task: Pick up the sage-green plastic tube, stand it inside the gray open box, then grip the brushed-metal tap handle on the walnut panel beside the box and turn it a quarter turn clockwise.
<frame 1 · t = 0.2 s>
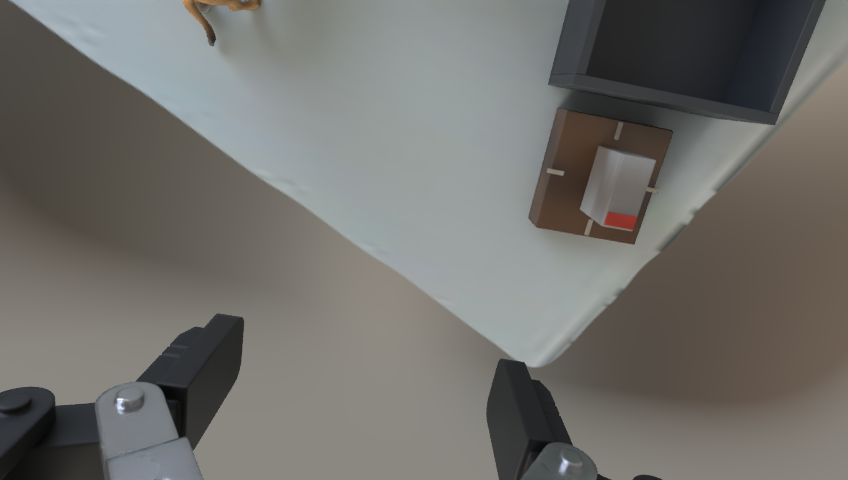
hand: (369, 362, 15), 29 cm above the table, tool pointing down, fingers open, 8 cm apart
tap knob: (615, 187, 37), point 6 cm above the table, hinge at 0.0°
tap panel: (590, 174, 42), on the table
gray open box: (662, 16, 38), on the table
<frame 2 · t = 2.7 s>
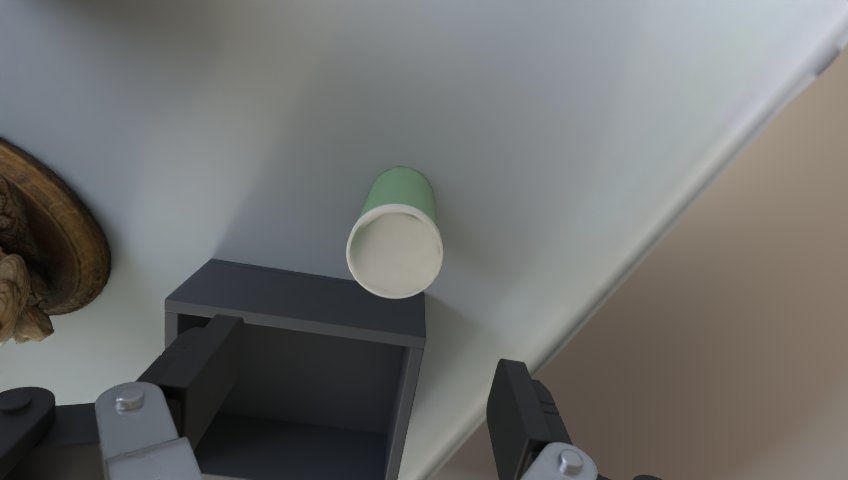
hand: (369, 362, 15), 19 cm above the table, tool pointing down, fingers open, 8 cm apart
gray open box: (310, 354, 36), on the table
green tube: (401, 198, 33), on the table
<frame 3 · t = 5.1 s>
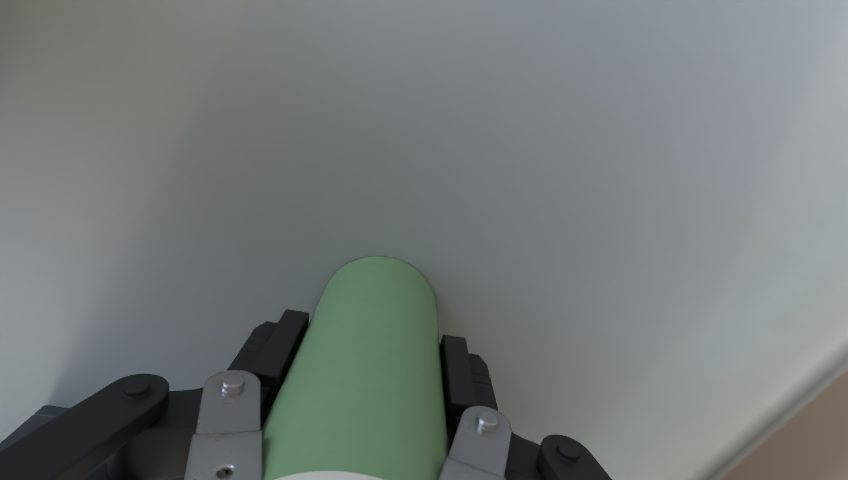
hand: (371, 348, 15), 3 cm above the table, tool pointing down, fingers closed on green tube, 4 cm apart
green tube: (379, 309, 18), on the table, touching gripper
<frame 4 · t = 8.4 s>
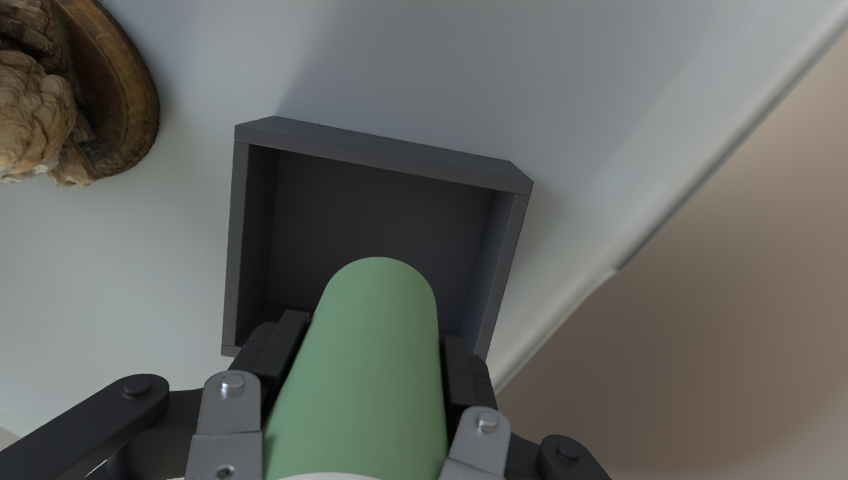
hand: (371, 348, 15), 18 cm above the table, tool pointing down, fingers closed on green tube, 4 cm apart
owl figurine: (24, 55, 29), on the table
gray open box: (377, 236, 33), on the table
green tube: (379, 309, 18), point 15 cm above the table, touching gripper
when the fingers open (3 cm above the table, at t = 12.0 s): green tube stays where it is, resting on gray open box.
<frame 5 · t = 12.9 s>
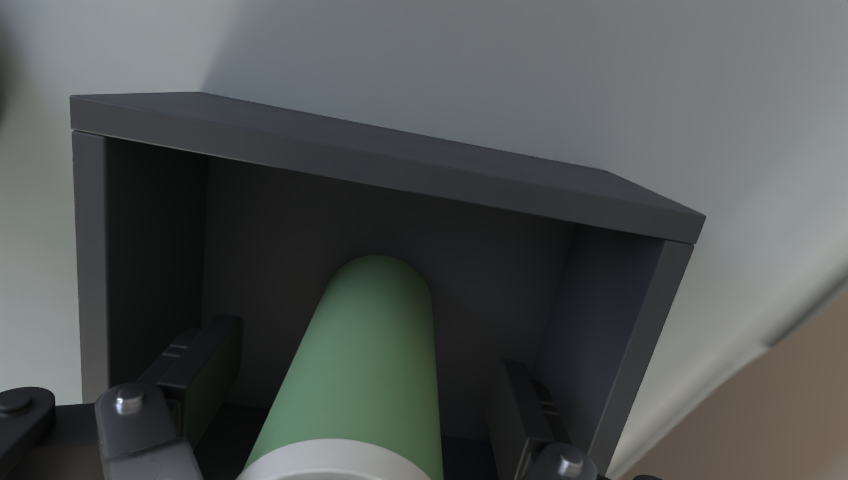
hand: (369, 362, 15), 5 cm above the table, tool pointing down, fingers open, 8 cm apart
gray open box: (379, 295, 20), on the table
green tube: (377, 305, 19), point 1 cm above the table, touching gray open box
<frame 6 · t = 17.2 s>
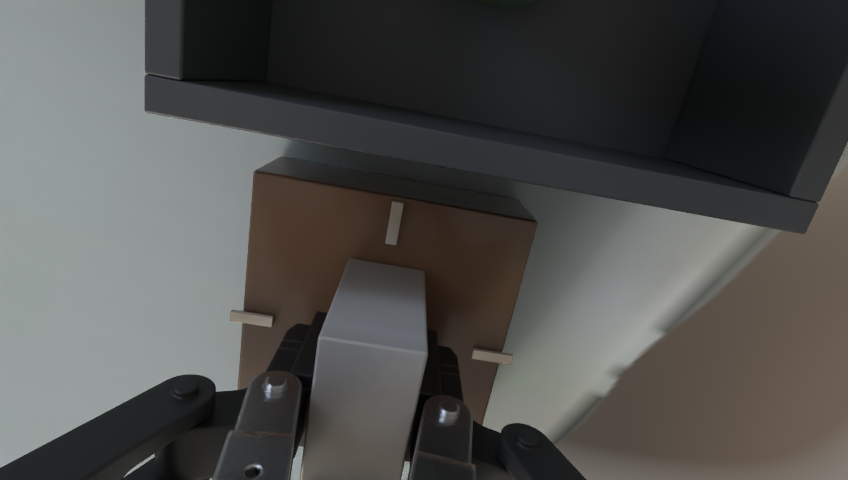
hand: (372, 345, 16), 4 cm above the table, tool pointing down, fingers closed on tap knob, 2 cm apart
tap knob: (366, 383, 14), point 6 cm above the table, hinge at 0.0°, touching gripper
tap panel: (381, 298, 19), on the table
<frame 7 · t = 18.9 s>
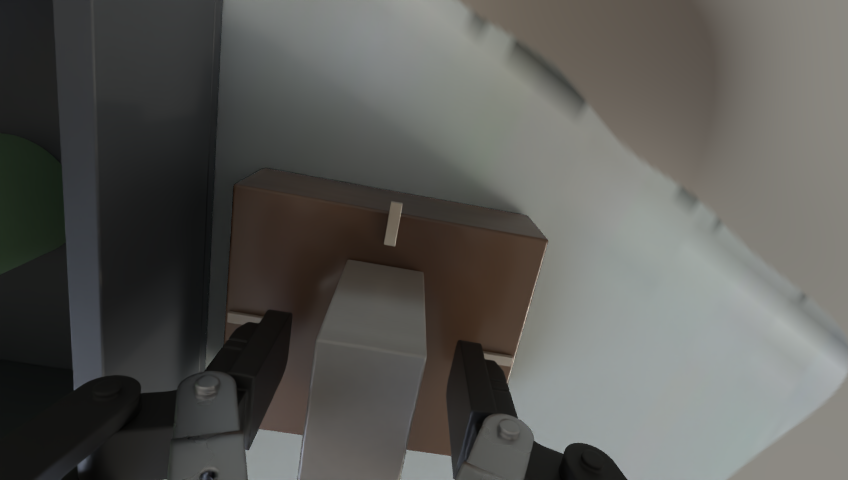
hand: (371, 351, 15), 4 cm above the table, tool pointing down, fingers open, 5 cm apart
tap knob: (364, 386, 13), point 6 cm above the table, hinge at -90.1°
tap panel: (379, 299, 19), on the table
gray open box: (24, 191, 17), on the table
green tube: (16, 196, 17), point 1 cm above the table, touching gray open box
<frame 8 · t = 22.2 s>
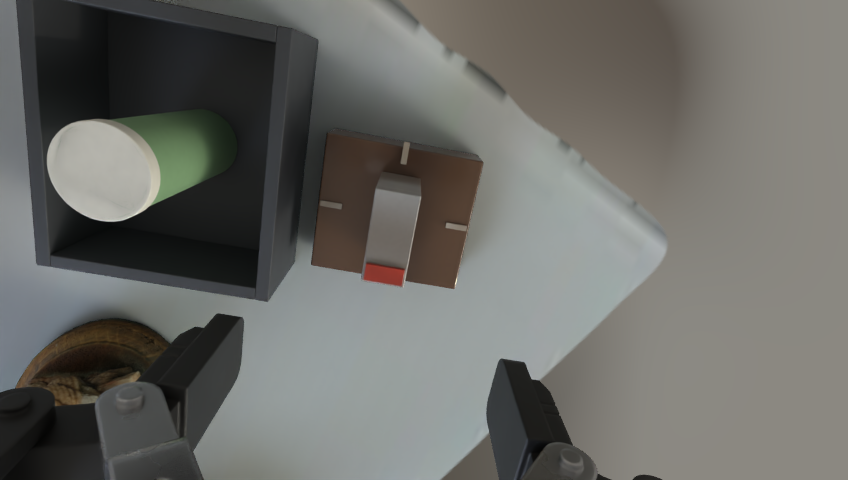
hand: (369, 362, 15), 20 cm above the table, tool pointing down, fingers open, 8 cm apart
tap knob: (392, 227, 28), point 6 cm above the table, hinge at -90.1°
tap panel: (396, 204, 34), on the table
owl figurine: (103, 401, 39), on the table
gray open box: (206, 141, 32), on the table
green tube: (204, 142, 32), point 1 cm above the table, touching gray open box
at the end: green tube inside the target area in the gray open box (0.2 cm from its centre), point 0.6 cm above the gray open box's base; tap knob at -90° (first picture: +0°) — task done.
